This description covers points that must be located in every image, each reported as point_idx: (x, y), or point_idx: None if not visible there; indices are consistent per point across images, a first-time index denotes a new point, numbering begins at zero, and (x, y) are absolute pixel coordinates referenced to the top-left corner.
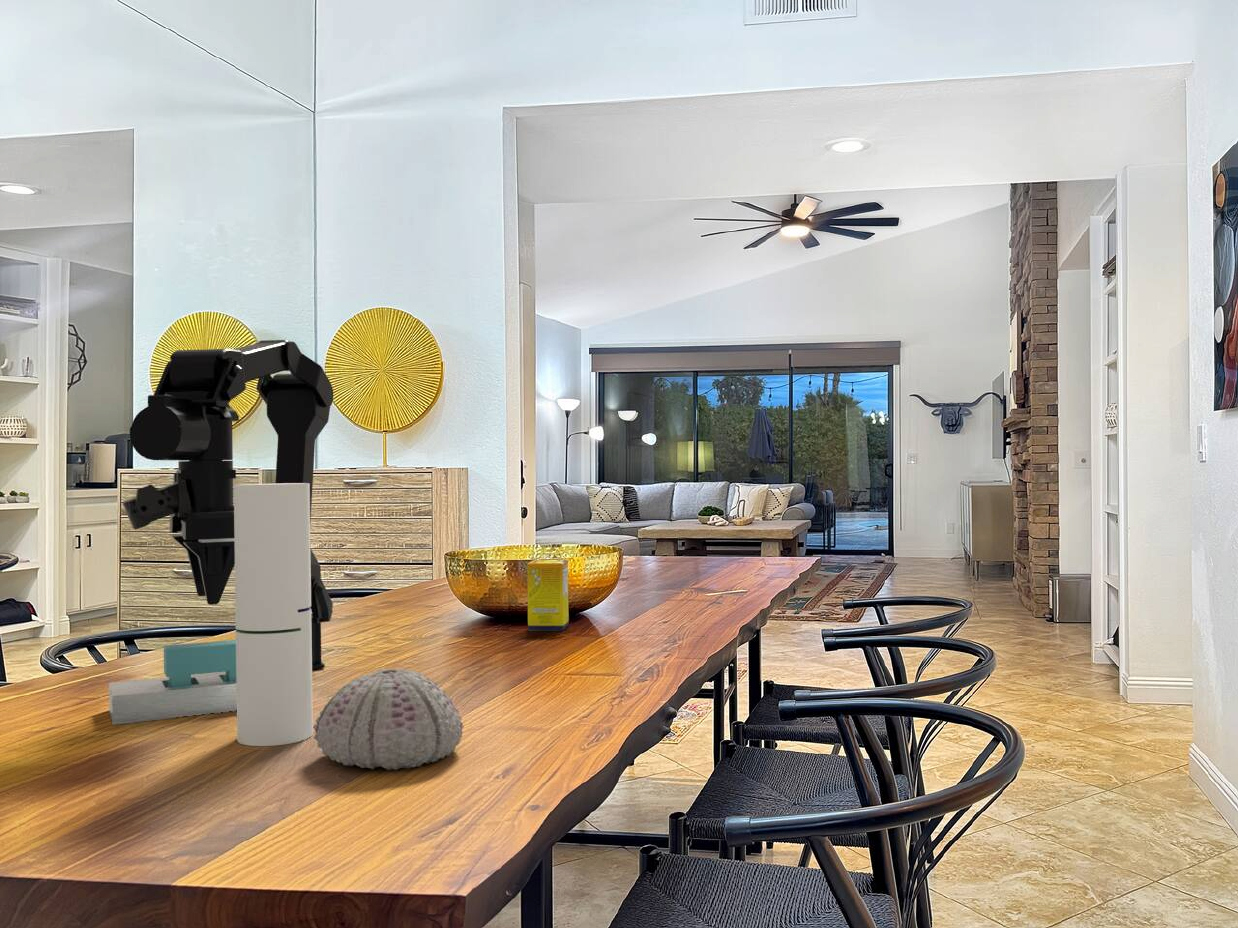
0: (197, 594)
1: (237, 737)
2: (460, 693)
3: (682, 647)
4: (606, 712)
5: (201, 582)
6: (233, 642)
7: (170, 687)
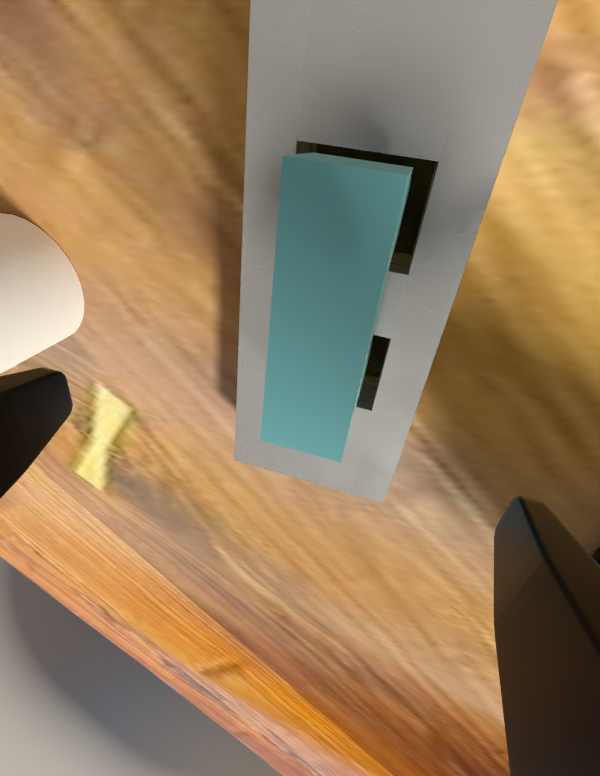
0: (534, 500)
1: (4, 215)
2: (198, 566)
3: (298, 766)
4: (48, 571)
5: (525, 588)
6: (293, 405)
7: None
